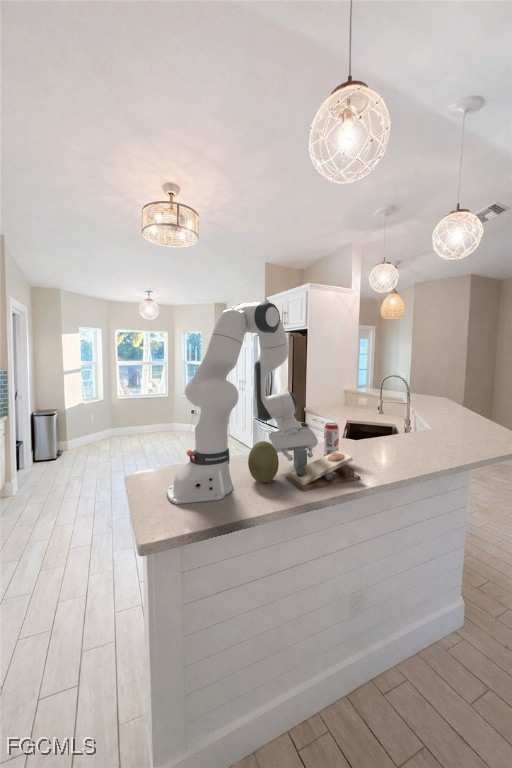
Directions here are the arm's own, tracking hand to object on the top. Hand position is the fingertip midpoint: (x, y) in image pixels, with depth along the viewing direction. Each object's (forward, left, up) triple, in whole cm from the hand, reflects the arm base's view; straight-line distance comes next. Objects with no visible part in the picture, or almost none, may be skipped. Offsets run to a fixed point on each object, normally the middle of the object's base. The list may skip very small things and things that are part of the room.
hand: (301, 458), depth 129 cm
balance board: (+2, -12, 0) cm, 13 cm away
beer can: (+18, +5, -5) cm, 19 cm away
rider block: (0, +1, -4) cm, 4 cm away
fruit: (-19, -5, -5) cm, 20 cm away
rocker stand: (+2, -12, -4) cm, 13 cm away
